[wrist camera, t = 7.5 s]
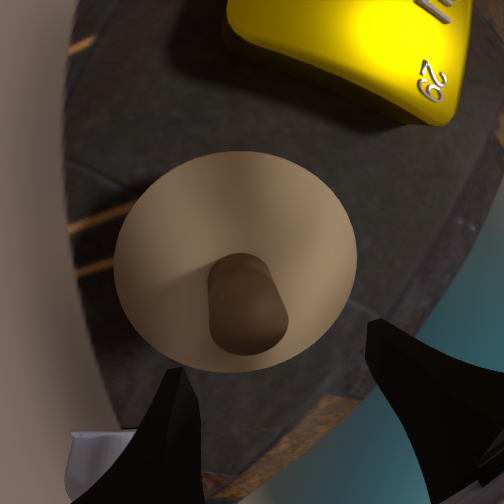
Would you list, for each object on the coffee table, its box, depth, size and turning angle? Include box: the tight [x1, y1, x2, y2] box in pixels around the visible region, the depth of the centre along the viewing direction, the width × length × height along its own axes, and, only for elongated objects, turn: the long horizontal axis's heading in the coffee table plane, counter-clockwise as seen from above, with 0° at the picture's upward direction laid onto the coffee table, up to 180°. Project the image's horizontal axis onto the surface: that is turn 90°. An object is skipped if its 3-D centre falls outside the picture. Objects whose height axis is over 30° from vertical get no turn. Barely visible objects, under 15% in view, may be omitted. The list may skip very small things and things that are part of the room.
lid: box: [114, 150, 357, 373], centre depth 13 cm, size 12×12×4 cm
